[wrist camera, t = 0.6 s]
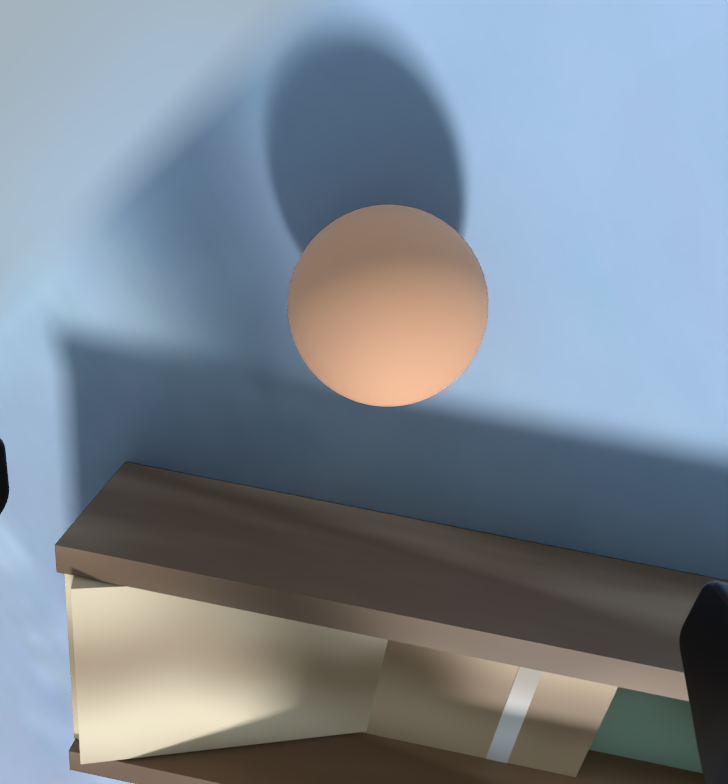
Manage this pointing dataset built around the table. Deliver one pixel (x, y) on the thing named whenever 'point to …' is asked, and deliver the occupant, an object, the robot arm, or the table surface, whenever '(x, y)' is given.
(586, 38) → the table surface
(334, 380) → the ball
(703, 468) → the table surface
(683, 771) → the brown wooden open box
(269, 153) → the table surface
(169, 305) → the table surface
